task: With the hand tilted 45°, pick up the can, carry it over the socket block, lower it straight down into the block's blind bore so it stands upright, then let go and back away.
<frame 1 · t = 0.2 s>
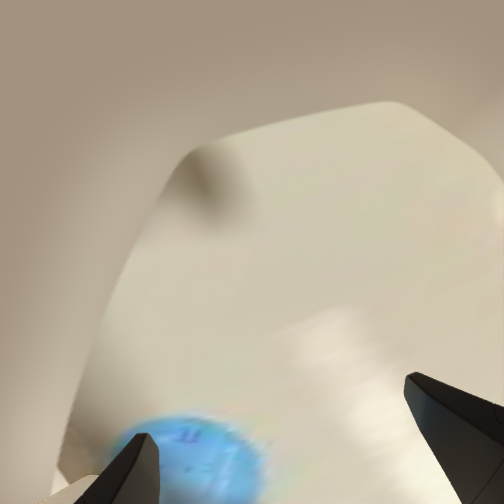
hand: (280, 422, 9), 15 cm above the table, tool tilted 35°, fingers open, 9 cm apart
can: (107, 499, 20), on the table
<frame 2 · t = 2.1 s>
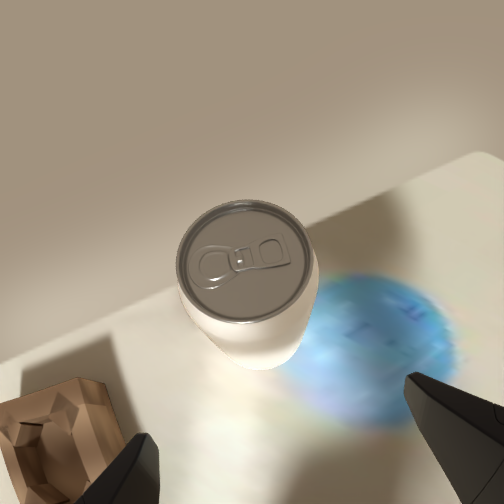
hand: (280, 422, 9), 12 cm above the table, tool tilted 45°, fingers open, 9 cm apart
can: (260, 329, 23), on the table
socket block: (75, 460, 18), on the table
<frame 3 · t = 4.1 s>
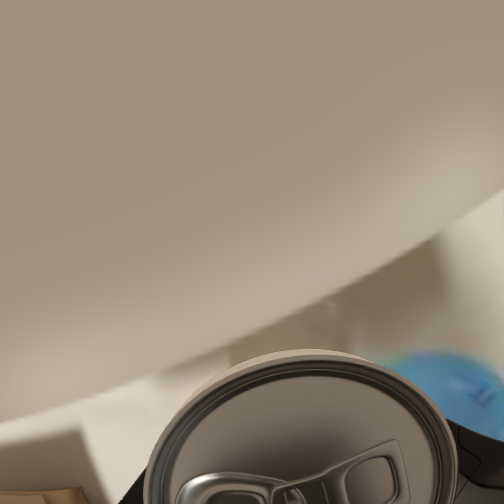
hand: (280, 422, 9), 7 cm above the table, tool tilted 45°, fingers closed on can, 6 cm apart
can: (286, 438, 14), on the table, touching gripper
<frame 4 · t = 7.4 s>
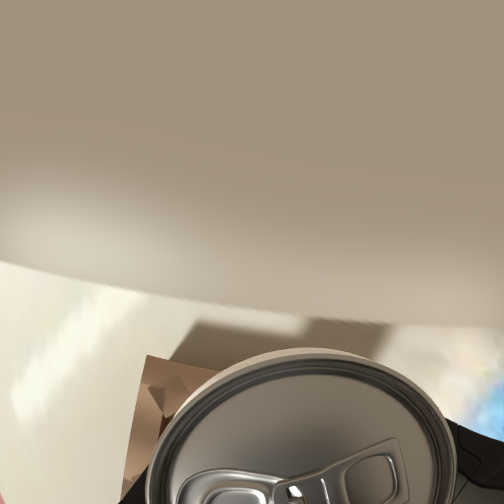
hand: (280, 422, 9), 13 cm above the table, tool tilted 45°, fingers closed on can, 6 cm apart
can: (287, 437, 14), point 6 cm above the table, touching gripper
socket block: (223, 447, 20), on the table
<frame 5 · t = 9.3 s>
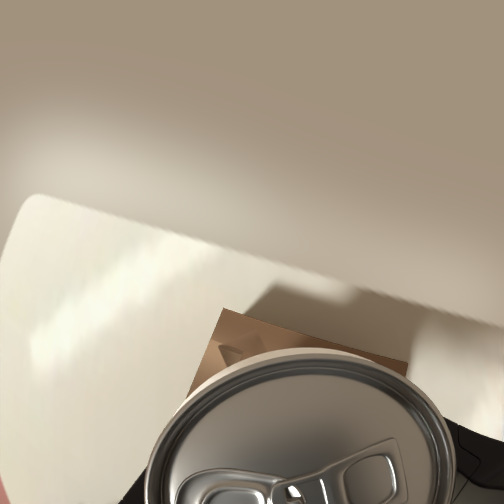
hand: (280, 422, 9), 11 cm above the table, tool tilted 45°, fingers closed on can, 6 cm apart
can: (287, 436, 14), point 4 cm above the table, touching gripper
socket block: (282, 427, 18), on the table
when the fingers open (9 cm above the table, at t = 10.8 s): can drops 1 cm, resting on socket block.
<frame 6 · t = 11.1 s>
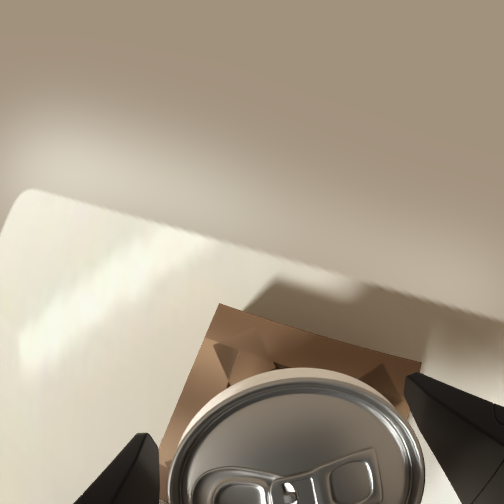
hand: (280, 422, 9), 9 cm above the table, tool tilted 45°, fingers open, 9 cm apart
can: (287, 438, 15), point 1 cm above the table, touching socket block
socket block: (284, 434, 16), on the table
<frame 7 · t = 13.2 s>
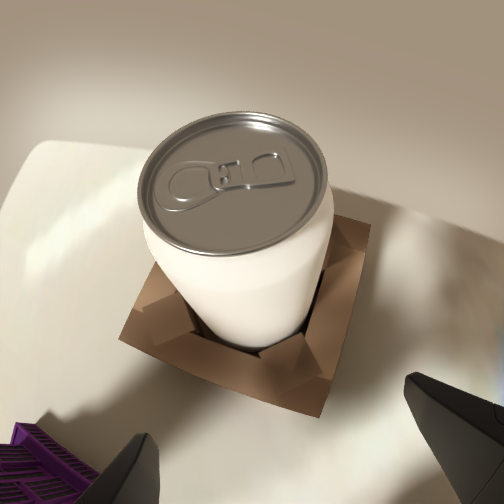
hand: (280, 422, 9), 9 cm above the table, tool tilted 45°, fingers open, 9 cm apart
can: (256, 304, 19), point 1 cm above the table, touching socket block
socket block: (254, 304, 20), on the table
building model: (64, 483, 15), on the table
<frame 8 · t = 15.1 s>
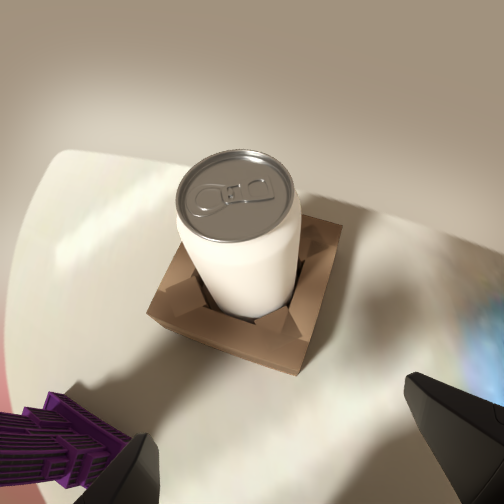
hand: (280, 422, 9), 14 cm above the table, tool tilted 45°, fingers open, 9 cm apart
can: (253, 287, 25), point 1 cm above the table, touching socket block
socket block: (252, 289, 26), on the table
building model: (88, 445, 20), on the table
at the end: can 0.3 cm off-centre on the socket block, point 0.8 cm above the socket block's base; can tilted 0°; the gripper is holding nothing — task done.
